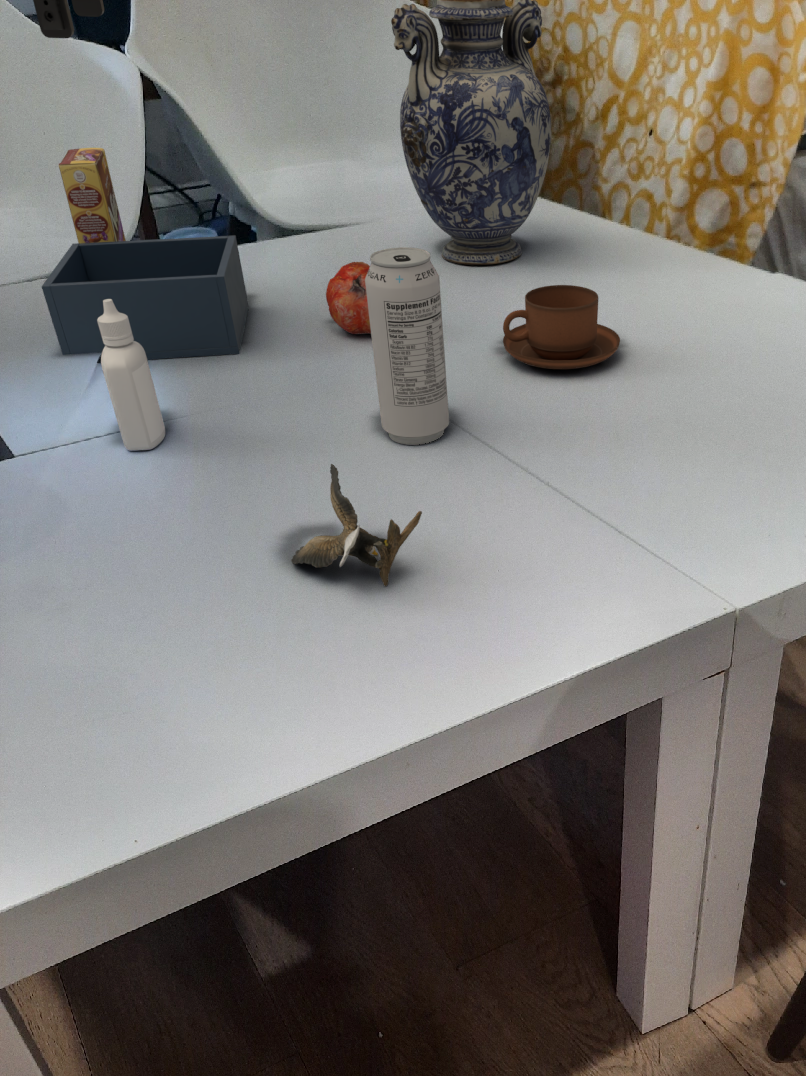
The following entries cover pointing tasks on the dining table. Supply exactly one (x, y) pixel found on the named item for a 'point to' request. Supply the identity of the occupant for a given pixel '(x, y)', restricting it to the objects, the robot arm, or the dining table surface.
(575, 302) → the cup and saucer
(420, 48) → the decorative vase
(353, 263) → the pomegranate
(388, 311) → the energy drink can
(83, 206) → the candy box
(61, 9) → the robot arm
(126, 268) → the bin
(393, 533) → the eagle figurine
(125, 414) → the eye dropper bottle
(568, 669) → the dining table surface
